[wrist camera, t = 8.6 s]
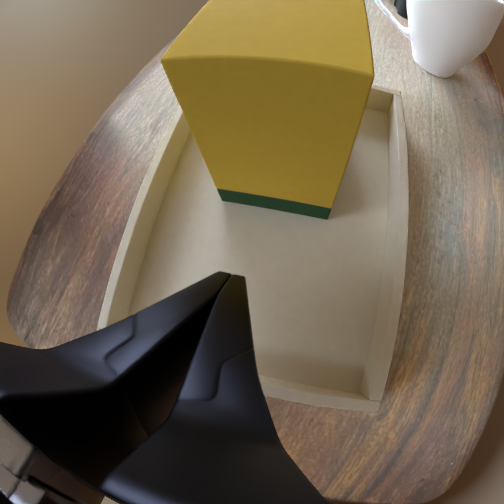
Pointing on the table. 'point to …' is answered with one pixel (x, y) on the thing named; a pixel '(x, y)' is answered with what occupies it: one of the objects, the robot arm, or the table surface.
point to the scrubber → (275, 96)
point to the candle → (401, 7)
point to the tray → (284, 261)
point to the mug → (448, 31)
